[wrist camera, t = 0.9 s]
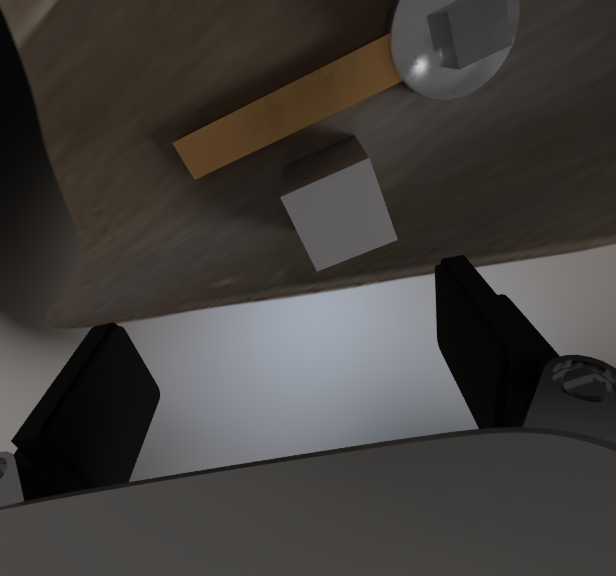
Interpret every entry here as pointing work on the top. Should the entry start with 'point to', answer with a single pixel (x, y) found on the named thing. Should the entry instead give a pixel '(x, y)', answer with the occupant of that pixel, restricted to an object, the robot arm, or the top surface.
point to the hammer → (369, 76)
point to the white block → (336, 204)
